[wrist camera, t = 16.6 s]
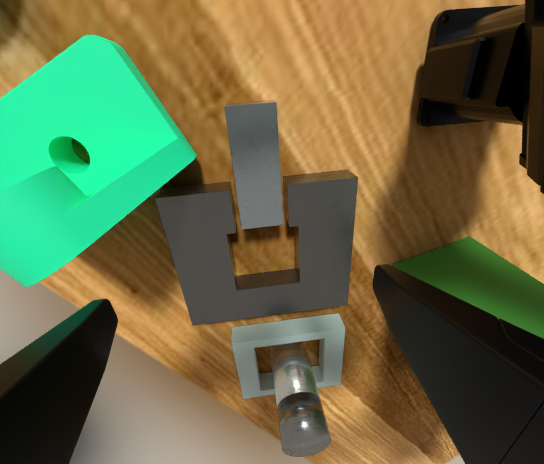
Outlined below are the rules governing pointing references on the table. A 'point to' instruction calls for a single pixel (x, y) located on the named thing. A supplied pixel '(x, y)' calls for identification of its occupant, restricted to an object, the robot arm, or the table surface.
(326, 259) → the socket block
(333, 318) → the square frame
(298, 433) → the chrome metal cylinder
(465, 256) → the hardback book
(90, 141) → the camera mount
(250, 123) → the grey rectangular block
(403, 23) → the table surface
